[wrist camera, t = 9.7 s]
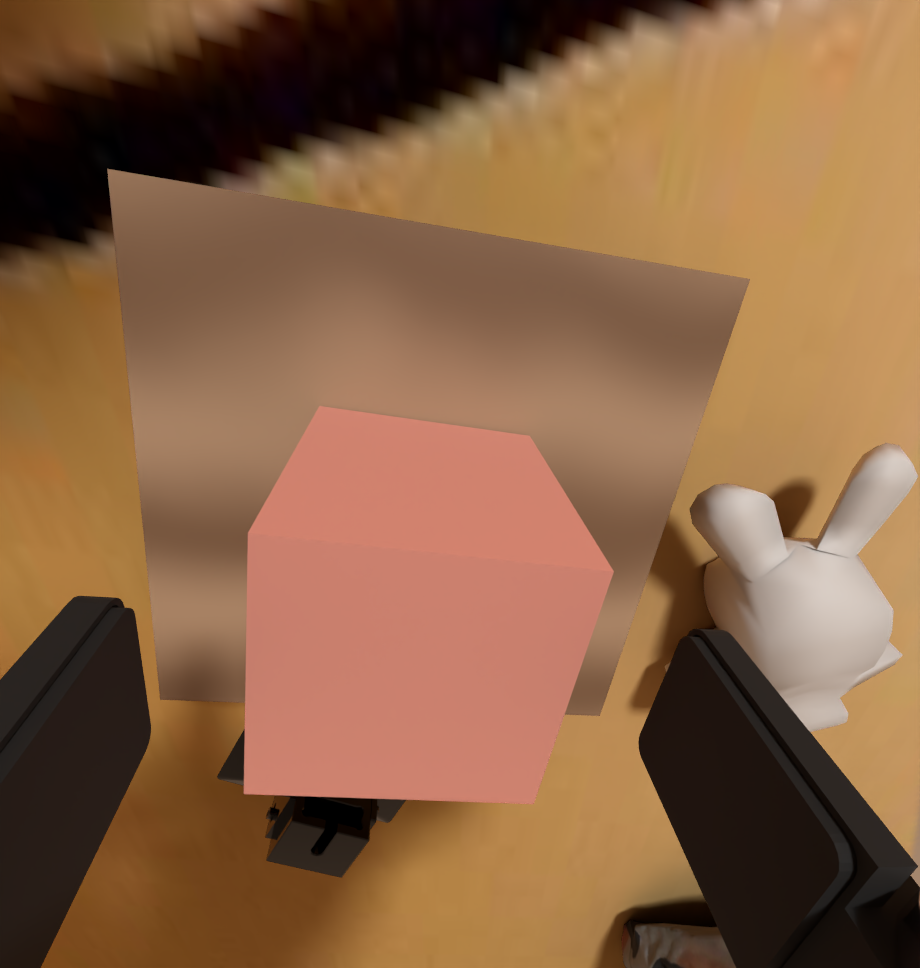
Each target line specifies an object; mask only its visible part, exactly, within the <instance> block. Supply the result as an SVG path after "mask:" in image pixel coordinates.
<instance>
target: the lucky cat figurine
mask: <svg viewBox="0 0 920 968" xmlns="http://www.w3.org/2000/svg"><path fill="white" fill-rule="evenodd" d="M622 952H623V962H624V964H625V967H626V968H736V966H735V964H734V962H733V960H732V958H731V956H730V953H729V951H728V949H727V947H726V945H725V942H724V940H723V938H722V936H721V933H720V931H719V929H718V927H702V926H690V925H679V924H667V923H655V924H643V923H639V922H636V921H632V920H630V921H629V922H628V923H627V924H624V931H623V935H622Z"/></svg>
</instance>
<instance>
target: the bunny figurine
mask: <svg viewBox="0 0 920 968" xmlns="http://www.w3.org/2000/svg"><path fill="white" fill-rule="evenodd" d="M917 478H918V475H917V473H916V471H915V468H914V466H913V464H912V462H911V461H910V460H909V458H908V457H907V456H906V454H905V453H904V451H903V450H902V449H901V447H900V446H899V445H895V444H889V443H885V444H882V445H880V446H877V447H875V448H873V449H872V450H870V451H869V452H867V453H865V454H864V455H863V456H862V457H861V459H860V460H859V461H858V463H857V464H856V466H855V467H854V468H853V470H852V472H851V474H850V476H849V478H848V480H847V482H846V484H845V486H844V488H843V490H842V492H841V493H840V495H839V497H838V499H837V501H836V503H835V505H834V507H833V509H832V511H831V513H830V515H829V517H828V519H827V521H826V523H825V524H824V526H823V528H822V530H821V532H820V534H819V536H818V538H817V539H812V538H793V537H783V534H782V531H781V527H780V523H779V519H778V515H777V511H776V508H775V504H774V501H773V500H771V499H770V498H769V497H768V496H767V495H766V494H763V493H760V492H757V491H754V490H751V489H748V488H745V487H742V486H739V485H733V484H718V485H714V486H712V487H710V488H709V489H707V490H705V491H703V492H702V493H700V494H698V496H697V497H696V499H695V501H694V502H693V504H692V506H691V508H690V514H691V519H692V524H693V525H694V526H695V527H696V529H697V530H698V531H699V532H700V534H701V535H702V536H703V537H704V539H705V540H706V541H707V542H708V544H709V545H710V546H711V547H712V549H713V550H714V551H715V552H716V554H717V555H718V556H719V558H717V559H716V560H715V561H713V562H710V563H708V564H707V566H706V570H705V575H704V595H705V600H706V604H707V608H708V610H709V612H710V615H711V617H712V619H713V621H714V623H715V625H716V627H715V628H714V629H713V630H724V631H727V632H729V633H730V634H731V635H732V636H733V637H734V638H735V639H736V641H737V642H738V643H739V644H740V646H741V647H742V648H743V649H744V651H745V652H746V653H747V654H748V656H749V657H750V658H751V659H752V661H753V662H754V663H755V664H756V666H757V667H758V668H759V669H760V671H761V672H762V673H763V674H764V676H765V677H766V678H767V679H768V681H769V682H770V683H771V684H772V685H773V687H774V688H775V689H776V690H777V692H778V693H779V694H780V695H781V697H782V698H783V699H784V700H785V702H786V703H787V704H788V705H789V707H790V708H791V709H792V710H793V712H794V713H795V714H796V715H797V717H798V718H799V719H800V720H801V722H802V723H803V724H804V725H805V726H806V728H807V729H808V730H809V731H810V732H812V731H816V730H821V729H825V728H829V727H833V726H837V725H840V724H843V723H846V722H847V718H848V712H847V710H846V708H845V707H844V705H843V703H842V701H841V699H840V697H842V696H843V695H844V694H846V693H847V692H848V691H850V690H851V689H852V688H854V687H855V686H857V685H859V684H861V683H862V682H864V681H866V680H868V679H870V678H871V677H873V676H875V675H877V674H879V673H880V672H882V671H884V670H886V669H887V668H889V667H891V666H893V665H894V664H895V663H896V662H897V661H898V659H899V658H900V657H901V656H902V654H901V653H900V652H899V651H898V650H897V649H896V648H895V647H894V646H893V645H892V644H891V643H890V642H889V638H890V635H891V632H892V623H893V609H892V607H891V606H890V604H889V603H888V601H887V599H886V598H885V596H884V595H883V593H882V592H881V590H880V589H879V587H878V586H877V584H876V582H875V581H874V579H873V578H872V576H871V575H870V573H869V572H868V570H867V569H866V567H865V565H864V564H863V562H862V561H861V559H860V558H859V556H858V555H857V554H858V553H859V552H860V550H861V549H862V548H863V547H864V546H865V545H866V543H867V542H868V541H869V540H870V539H871V538H872V536H873V535H874V534H875V533H876V532H877V531H878V529H879V528H880V527H881V526H882V525H883V523H884V522H885V521H886V520H887V518H888V517H889V516H890V515H891V514H892V512H893V511H894V510H895V509H896V507H897V506H898V505H899V504H900V503H901V501H902V500H903V499H904V498H905V497H906V495H907V494H908V493H909V491H910V489H911V488H912V486H913V484H914V483H915V481H916V479H917ZM670 663H671V662H670ZM670 663H668V664H667V665H665V670H666V672H667V670H668V667H669V665H670Z"/></svg>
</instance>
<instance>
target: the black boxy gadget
mask: <svg viewBox="0 0 920 968" xmlns="http://www.w3.org/2000/svg"><path fill="white" fill-rule="evenodd" d="M244 747H245V729H244V731H243V732H242V734H241V736H240V738H239V739H238V741H237V743H236V745H235V746H234V748H233V750H232V751H231V753H230V755H229V757H228V758H227V760H226V762H225V764H224V765H223V767H222V769H221V771H220V772H219V774H218V776H217V777H218V779H220V780H224V781H228V782H232V783H236V784H240V785H243V786H244ZM405 801H406V800H401V799H372V798H343V797H314V796H285V795H275V797H274V801H273V805H272V807H270V808H269V810H268V812H267V815H266V819H269V822H268V827H267V831H266V835H265V837H266V838H270V839H271V841H270V845H269V850H268V854H267V859H266V860H267V861H270V862H274V863H279V864H283V865H288V866H292V867H297V868H301V869H305V870H310V871H314V872H319V873H323V874H328V875H332V876H337V877H341V878H342V877H343V875H344V874H345V873H346V871H347V870H348V869H349V867H350V866H351V865H352V863H353V862H354V861H355V859H356V858H357V856H358V855H359V854H360V852H361V851H362V850H363V848H364V847H365V846H366V844H367V843H368V842H369V839H370V829H371V828H372V827H373V825H374V824H375V823H376V820H378V821H382V822H386V823H388V822H390V821H391V820H392V818H393V817H394V816H395V814H396V813H397V812H398V810H399V809H400V807H401V806H402V805H403V803H404V802H405Z"/></svg>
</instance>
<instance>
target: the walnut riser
mask: <svg viewBox="0 0 920 968" xmlns="http://www.w3.org/2000/svg"><path fill="white" fill-rule="evenodd" d="M107 171H108V181H109V191H110V201H111V211H112V221H113V231H114V241H115V251H116V261H117V271H118V281H119V291H120V301H121V311H122V321H123V331H124V341H125V351H126V361H127V371H128V381H129V391H130V401H131V411H132V421H133V431H134V441H135V451H136V461H137V471H138V481H139V491H140V501H141V511H142V521H143V531H144V541H145V551H146V561H147V571H148V581H149V591H150V601H151V611H152V621H153V631H154V641H155V651H156V661H157V671H158V681H159V691H160V700H186V701H213V702H240V703H245V683H246V618H247V553H248V532H249V530H250V528H251V527H252V525H253V523H254V521H255V519H256V518H257V516H258V514H259V512H260V511H261V509H262V507H263V505H264V503H265V502H266V500H267V498H268V496H269V495H270V493H271V491H272V489H273V487H274V486H275V484H276V482H277V480H278V479H279V477H280V475H281V473H282V471H283V470H284V468H285V466H286V464H287V463H288V461H289V459H290V457H291V456H292V454H293V452H294V450H295V448H296V447H297V445H298V443H299V441H300V440H301V438H302V436H303V434H304V432H305V431H306V429H307V427H308V425H309V424H310V422H311V420H312V418H313V416H314V415H315V413H316V411H317V409H318V408H319V406H324V407H331V408H338V409H345V410H352V411H359V412H366V413H373V414H380V415H387V416H394V417H401V418H408V419H415V420H422V421H429V422H436V423H443V424H450V425H457V426H464V427H472V428H479V429H486V430H493V431H500V432H507V433H514V434H521V435H528V436H530V437H531V439H532V440H533V442H534V443H535V445H536V447H537V448H538V450H539V451H540V453H541V455H542V456H543V458H544V460H545V461H546V463H547V464H548V466H549V468H550V469H551V471H552V472H553V474H554V476H555V477H556V479H557V481H558V482H559V484H560V485H561V487H562V489H563V490H564V492H565V493H566V495H567V497H568V498H569V500H570V502H571V503H572V505H573V506H574V508H575V510H576V511H577V513H578V514H579V516H580V518H581V519H582V521H583V523H584V524H585V526H586V527H587V529H588V531H589V532H590V534H591V535H592V537H593V539H594V540H595V542H596V544H597V545H598V547H599V548H600V550H601V552H602V553H603V555H604V556H605V558H606V560H607V561H608V563H609V564H610V566H611V568H612V569H613V571H614V573H613V576H612V579H611V581H610V584H609V587H608V590H607V593H606V596H605V599H604V602H603V605H602V607H601V610H600V613H599V616H598V619H597V622H596V625H595V628H594V631H593V634H592V636H591V639H590V642H589V645H588V648H587V651H586V654H585V657H584V660H583V662H582V665H581V668H580V671H579V674H578V677H577V680H576V683H575V686H574V689H573V691H572V694H571V697H570V700H569V703H568V706H567V709H566V712H565V715H591V716H600V713H601V710H602V708H603V705H604V702H605V699H606V696H607V693H608V690H609V687H610V684H611V681H612V679H613V676H614V673H615V670H616V667H617V664H618V661H619V658H620V655H621V652H622V650H623V647H624V644H625V641H626V638H627V635H628V632H629V629H630V626H631V623H632V621H633V618H634V615H635V612H636V609H637V606H638V603H639V600H640V597H641V594H642V591H643V589H644V586H645V583H646V580H647V577H648V574H649V571H650V568H651V565H652V562H653V560H654V557H655V554H656V551H657V548H658V545H659V542H660V539H661V536H662V533H663V531H664V528H665V525H666V522H667V519H668V516H669V513H670V510H671V507H672V504H673V501H674V499H675V496H676V493H677V490H678V487H679V484H680V481H681V478H682V475H683V472H684V470H685V467H686V464H687V461H688V458H689V455H690V452H691V449H692V446H693V443H694V441H695V438H696V435H697V432H698V429H699V426H700V423H701V420H702V417H703V414H704V412H705V409H706V406H707V403H708V400H709V397H710V394H711V391H712V388H713V385H714V382H715V380H716V377H717V374H718V371H719V368H720V365H721V362H722V359H723V356H724V353H725V351H726V348H727V345H728V342H729V339H730V336H731V333H732V330H733V327H734V324H735V322H736V319H737V316H738V313H739V310H740V307H741V304H742V301H743V298H744V295H745V292H746V290H747V287H748V284H749V281H750V279H746V278H740V277H734V276H728V275H722V274H717V273H711V272H705V271H699V270H693V269H688V268H682V267H676V266H670V265H664V264H658V263H653V262H647V261H641V260H635V259H629V258H623V257H618V256H612V255H606V254H600V253H594V252H589V251H583V250H577V249H571V248H565V247H559V246H554V245H548V244H542V243H536V242H530V241H524V240H519V239H513V238H507V237H501V236H495V235H489V234H484V233H478V232H472V231H466V230H460V229H455V228H449V227H443V226H437V225H431V224H425V223H420V222H414V221H408V220H402V219H396V218H390V217H385V216H379V215H373V214H367V213H361V212H355V211H350V210H344V209H338V208H332V207H326V206H321V205H315V204H309V203H303V202H297V201H291V200H286V199H280V198H274V197H268V196H262V195H256V194H251V193H245V192H239V191H233V190H227V189H222V188H216V187H210V186H204V185H198V184H192V183H187V182H181V181H175V180H169V179H163V178H157V177H152V176H146V175H140V174H134V173H128V172H122V171H117V170H111V169H107Z"/></svg>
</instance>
